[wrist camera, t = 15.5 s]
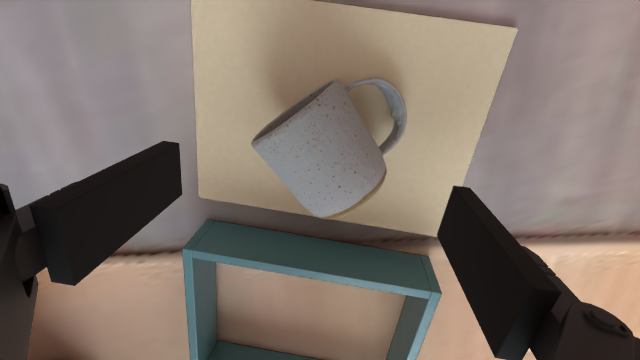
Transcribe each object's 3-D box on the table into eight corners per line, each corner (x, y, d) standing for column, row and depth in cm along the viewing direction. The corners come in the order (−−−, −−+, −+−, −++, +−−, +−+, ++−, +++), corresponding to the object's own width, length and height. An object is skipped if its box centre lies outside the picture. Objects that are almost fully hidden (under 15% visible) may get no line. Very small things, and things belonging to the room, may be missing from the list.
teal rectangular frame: (210, 343, 39) (191, 383, 34) (207, 219, 31) (181, 248, 27) (387, 376, 38) (392, 421, 33) (428, 256, 30) (442, 293, 26)
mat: (200, 195, 30) (198, 197, 30) (192, -16, 23) (189, -17, 22) (442, 235, 29) (443, 238, 29) (515, 28, 22) (518, 27, 21)
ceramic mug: (319, 197, 28) (310, 245, 21) (264, 125, 26) (233, 153, 19) (422, 133, 25) (451, 165, 18) (369, 46, 23) (379, 44, 16)
